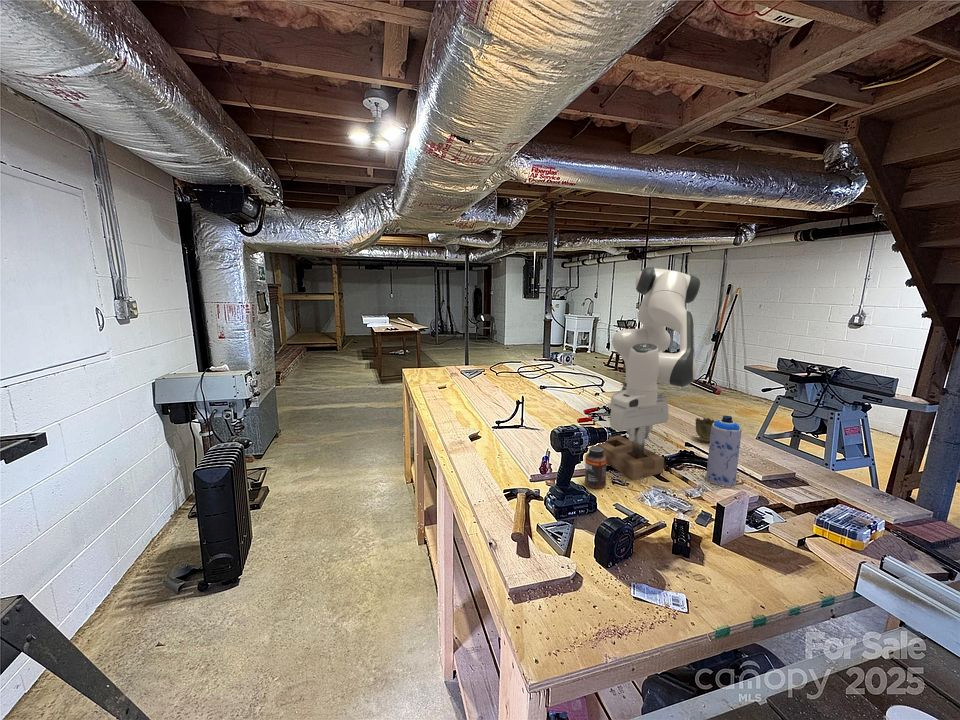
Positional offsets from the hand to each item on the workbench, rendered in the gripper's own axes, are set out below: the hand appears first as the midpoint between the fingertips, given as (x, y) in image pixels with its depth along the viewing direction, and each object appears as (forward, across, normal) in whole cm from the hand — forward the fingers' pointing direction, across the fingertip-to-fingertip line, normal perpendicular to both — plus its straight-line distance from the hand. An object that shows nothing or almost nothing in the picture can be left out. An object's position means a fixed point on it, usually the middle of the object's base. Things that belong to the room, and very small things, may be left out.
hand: (638, 439), depth 119 cm
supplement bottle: (+10, +18, +3) cm, 21 cm away
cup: (+10, -40, -8) cm, 42 cm away
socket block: (+10, 0, -5) cm, 11 cm away
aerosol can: (+10, -18, +15) cm, 26 cm away
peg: (+4, 0, 0) cm, 4 cm away
